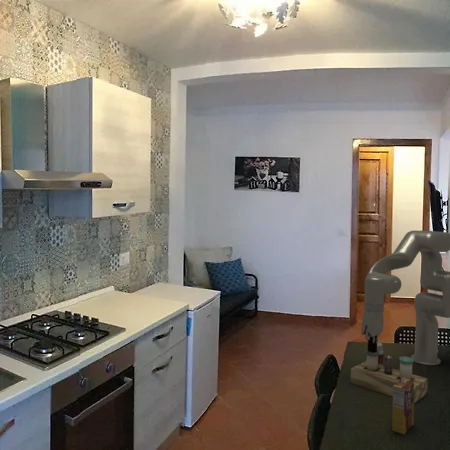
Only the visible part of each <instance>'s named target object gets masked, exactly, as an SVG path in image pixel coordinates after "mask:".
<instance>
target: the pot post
mask: <svg viewBox="0 0 450 450" xmlns="http://www.w3.org/2000/svg"><path fill="white" fill-rule="evenodd" d="M384 366H385V368H384V373H385V374H387V375H392V369H394V368H393V367H394V358H393V356H392V355H389V354H386V355H385V357H384Z"/></svg>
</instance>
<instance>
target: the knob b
mask: <svg viewBox="0 0 450 450" xmlns="http://www.w3.org/2000/svg"><path fill="white" fill-rule="evenodd" d="M398 361H399V371H400V377H399V379H400V380H401V379H402V378H406V379H410V380H412V374H413V364H414V363H415V362H414V359H413V358H411V356H410V357H409V356H404V355H403V356H399V357H398Z"/></svg>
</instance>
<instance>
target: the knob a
mask: <svg viewBox="0 0 450 450" xmlns="http://www.w3.org/2000/svg"><path fill="white" fill-rule="evenodd" d="M365 354H366V361H367V362H366V370H369V371H372V372H376V371H378V356H379V351H377V352H375V353H372V352H369V351H368V349H366V350H365Z"/></svg>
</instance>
